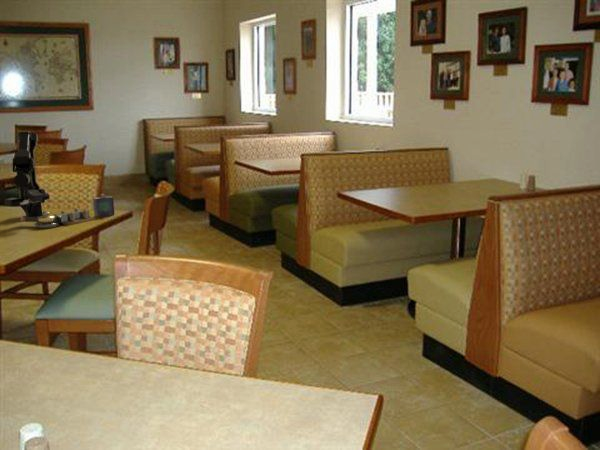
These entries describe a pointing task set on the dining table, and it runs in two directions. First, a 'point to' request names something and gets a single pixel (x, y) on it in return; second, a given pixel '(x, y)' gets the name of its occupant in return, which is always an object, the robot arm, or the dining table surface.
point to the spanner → (69, 216)
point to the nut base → (46, 226)
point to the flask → (103, 206)
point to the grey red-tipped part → (39, 219)
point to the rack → (75, 221)
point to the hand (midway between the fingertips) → (29, 218)
